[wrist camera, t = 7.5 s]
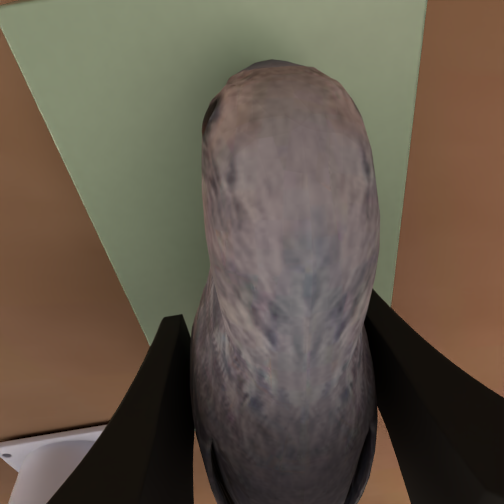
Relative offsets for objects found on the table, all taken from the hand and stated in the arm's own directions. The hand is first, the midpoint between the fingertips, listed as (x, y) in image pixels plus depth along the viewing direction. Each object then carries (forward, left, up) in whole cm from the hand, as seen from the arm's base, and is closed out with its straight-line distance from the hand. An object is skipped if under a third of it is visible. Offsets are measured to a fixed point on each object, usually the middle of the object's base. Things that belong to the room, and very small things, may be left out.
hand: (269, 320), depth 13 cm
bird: (0, 0, -2) cm, 2 cm away
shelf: (0, 0, -5) cm, 5 cm away
